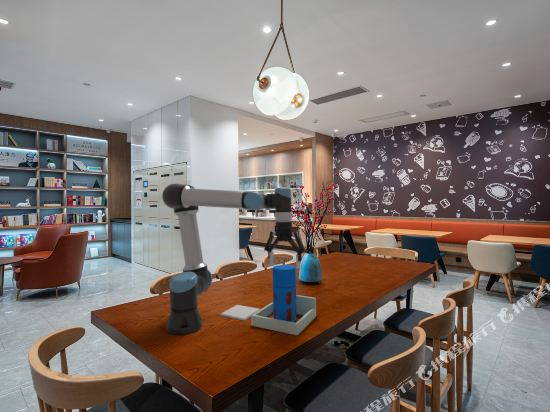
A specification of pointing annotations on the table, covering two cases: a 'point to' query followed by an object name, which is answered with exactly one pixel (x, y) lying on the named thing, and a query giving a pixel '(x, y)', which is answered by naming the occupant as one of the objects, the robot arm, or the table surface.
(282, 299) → the thermos
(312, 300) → the frame
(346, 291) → the table surface
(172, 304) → the robot arm
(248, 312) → the tile
